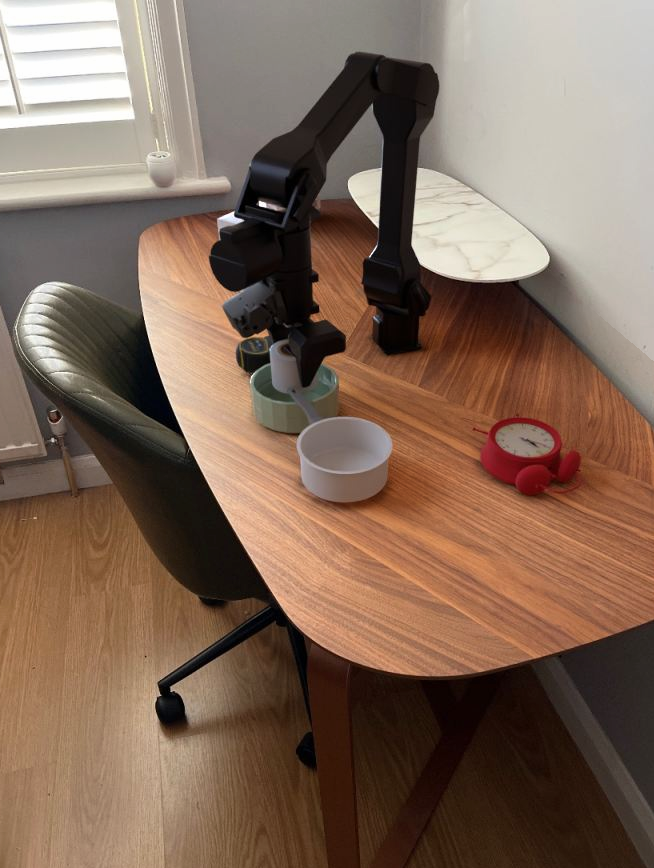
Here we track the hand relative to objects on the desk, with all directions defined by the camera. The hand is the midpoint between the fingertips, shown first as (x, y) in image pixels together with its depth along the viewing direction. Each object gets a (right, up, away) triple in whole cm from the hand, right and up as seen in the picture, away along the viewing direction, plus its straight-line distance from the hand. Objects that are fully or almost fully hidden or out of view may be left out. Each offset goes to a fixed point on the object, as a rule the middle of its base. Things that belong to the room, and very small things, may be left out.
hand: (294, 375), depth 101 cm
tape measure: (-6, +4, +13) cm, 15 cm away
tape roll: (0, -1, +1) cm, 1 cm away
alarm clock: (+30, -13, -6) cm, 34 cm away
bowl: (0, -4, +4) cm, 6 cm away
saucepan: (+5, -12, -5) cm, 14 cm away
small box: (-12, +26, +39) cm, 49 cm away
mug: (-7, +46, +63) cm, 78 cm away
